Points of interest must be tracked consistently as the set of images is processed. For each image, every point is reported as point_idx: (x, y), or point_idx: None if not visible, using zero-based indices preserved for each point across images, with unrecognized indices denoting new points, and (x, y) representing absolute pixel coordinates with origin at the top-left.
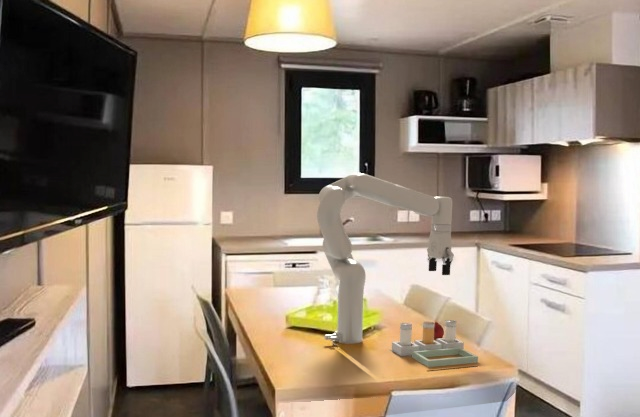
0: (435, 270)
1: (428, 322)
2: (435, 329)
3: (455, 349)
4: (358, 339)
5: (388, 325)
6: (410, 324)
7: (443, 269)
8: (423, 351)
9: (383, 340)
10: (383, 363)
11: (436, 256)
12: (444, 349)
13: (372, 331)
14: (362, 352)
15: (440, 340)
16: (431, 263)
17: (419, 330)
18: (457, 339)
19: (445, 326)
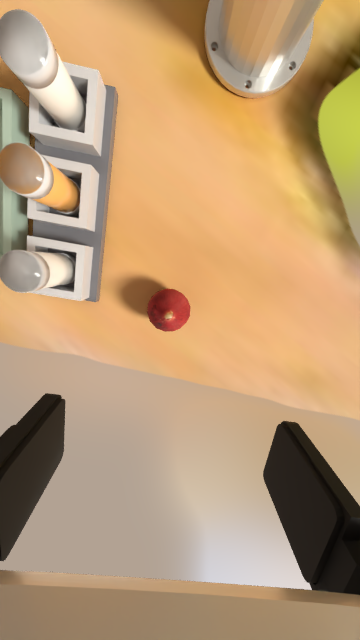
0: (264, 471)
1: (27, 173)
2: (155, 298)
3: (4, 243)
4: (222, 22)
5: (354, 291)
6: (14, 63)
7: (12, 434)
8: (3, 128)
9: (239, 175)
10: (39, 6)
11: (19, 638)
12: (6, 208)
13: (330, 206)
14: (161, 17)
15: (63, 242)
16: (314, 501)
17: (271, 334)
18: (57, 296)
19: (32, 251)
